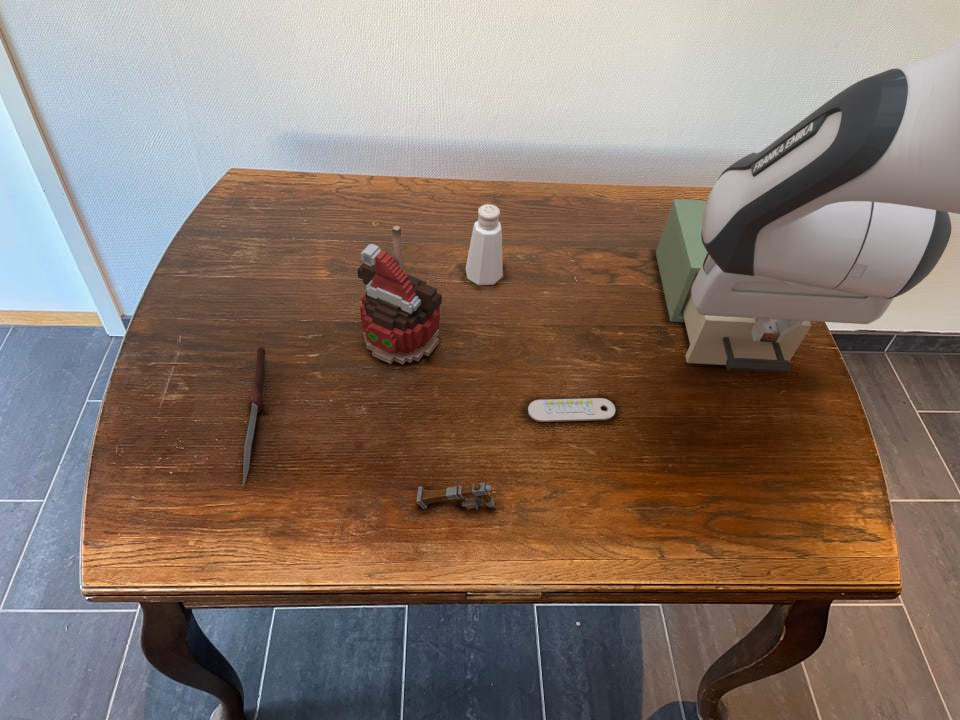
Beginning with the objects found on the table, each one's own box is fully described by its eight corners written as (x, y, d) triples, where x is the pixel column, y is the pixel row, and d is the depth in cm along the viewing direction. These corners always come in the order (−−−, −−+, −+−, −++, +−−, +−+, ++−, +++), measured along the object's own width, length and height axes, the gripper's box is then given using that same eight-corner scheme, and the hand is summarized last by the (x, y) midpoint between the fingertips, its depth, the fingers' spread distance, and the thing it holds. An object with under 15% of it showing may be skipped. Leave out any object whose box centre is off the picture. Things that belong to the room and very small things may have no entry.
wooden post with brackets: (502, 512, 72) (487, 491, 69) (433, 520, 75) (415, 500, 72) (503, 497, 73) (489, 475, 70) (435, 505, 76) (417, 485, 73)
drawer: (795, 398, 84) (823, 356, 78) (693, 393, 84) (713, 350, 78) (761, 297, 95) (783, 254, 89) (671, 292, 95) (687, 248, 89)
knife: (252, 491, 73) (247, 477, 71) (237, 492, 73) (231, 478, 71) (271, 358, 85) (267, 342, 83) (258, 359, 85) (254, 342, 82)
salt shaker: (470, 256, 99) (474, 193, 90) (507, 265, 98) (514, 201, 90) (459, 281, 95) (462, 217, 87) (497, 290, 95) (504, 227, 86)
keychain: (613, 396, 83) (618, 416, 81) (612, 399, 84) (617, 419, 82) (527, 398, 82) (530, 419, 80) (526, 401, 83) (529, 422, 81)
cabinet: (771, 327, 93) (801, 273, 86) (670, 321, 93) (691, 267, 85) (748, 258, 102) (773, 204, 94) (655, 253, 102) (673, 198, 94)
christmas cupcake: (455, 331, 89) (460, 220, 76) (419, 380, 84) (417, 271, 70) (385, 301, 92) (378, 189, 78) (345, 346, 87) (330, 235, 73)
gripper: (719, 260, 67) (680, 353, 78) (926, 272, 67) (859, 363, 78) (706, 219, 71) (671, 313, 82) (902, 231, 72) (841, 322, 82)
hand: (764, 338), depth 80 cm, fingers closed
